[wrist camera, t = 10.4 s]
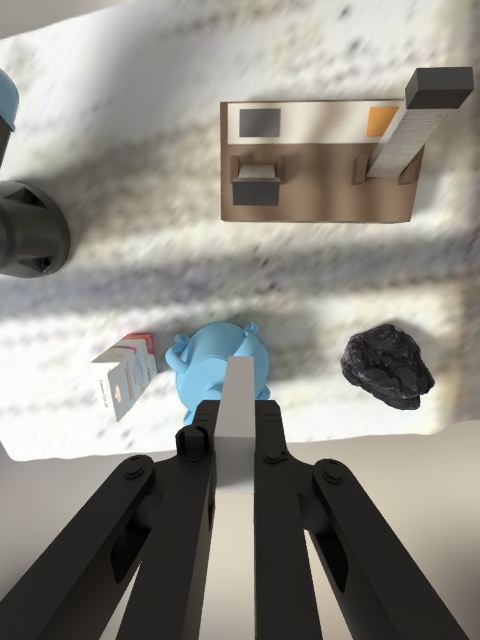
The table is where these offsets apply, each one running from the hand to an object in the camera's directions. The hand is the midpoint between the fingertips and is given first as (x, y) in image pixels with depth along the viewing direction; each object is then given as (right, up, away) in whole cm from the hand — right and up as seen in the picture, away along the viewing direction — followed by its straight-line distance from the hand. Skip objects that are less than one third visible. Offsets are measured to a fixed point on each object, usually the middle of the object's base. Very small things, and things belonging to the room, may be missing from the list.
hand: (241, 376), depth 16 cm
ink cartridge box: (-19, -3, +35) cm, 39 cm away
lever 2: (+18, +23, +18) cm, 34 cm away
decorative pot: (-3, -4, +34) cm, 34 cm away
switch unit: (+11, +25, +23) cm, 36 cm away
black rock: (+25, -3, +32) cm, 40 cm away
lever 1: (+2, +23, +19) cm, 30 cm away
